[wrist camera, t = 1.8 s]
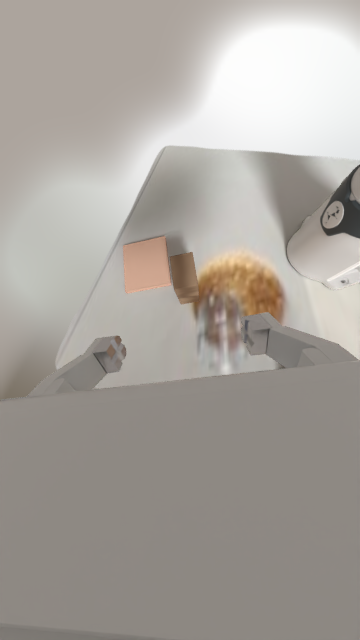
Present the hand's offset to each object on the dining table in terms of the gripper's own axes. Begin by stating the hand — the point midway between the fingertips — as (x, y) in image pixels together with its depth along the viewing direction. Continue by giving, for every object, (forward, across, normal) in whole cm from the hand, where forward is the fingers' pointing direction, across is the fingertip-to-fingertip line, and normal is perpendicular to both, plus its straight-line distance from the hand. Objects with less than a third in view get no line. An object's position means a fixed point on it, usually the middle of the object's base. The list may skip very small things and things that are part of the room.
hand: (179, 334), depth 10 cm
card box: (+28, 0, +7) cm, 29 cm away
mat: (+34, +10, +1) cm, 36 cm away
